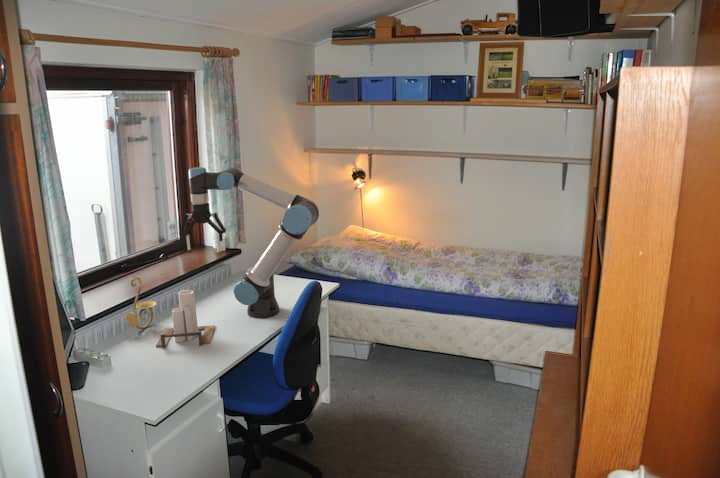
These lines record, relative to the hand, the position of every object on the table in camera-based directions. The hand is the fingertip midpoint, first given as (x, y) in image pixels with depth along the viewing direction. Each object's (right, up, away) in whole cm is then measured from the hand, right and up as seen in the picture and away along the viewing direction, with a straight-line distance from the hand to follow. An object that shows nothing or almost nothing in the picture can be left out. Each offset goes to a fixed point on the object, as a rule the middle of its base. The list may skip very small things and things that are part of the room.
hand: (204, 248), depth 255 cm
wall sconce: (-28, -36, +1) cm, 46 cm away
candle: (-5, -39, -10) cm, 40 cm away
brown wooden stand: (-5, -39, -10) cm, 40 cm away
